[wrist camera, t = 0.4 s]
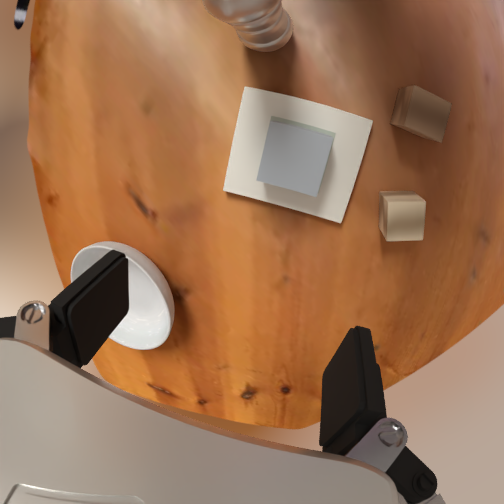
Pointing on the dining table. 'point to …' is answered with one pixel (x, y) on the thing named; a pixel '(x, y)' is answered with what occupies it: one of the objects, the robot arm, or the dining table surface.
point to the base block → (294, 157)
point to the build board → (306, 116)
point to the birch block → (401, 215)
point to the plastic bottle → (255, 21)
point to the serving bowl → (136, 296)
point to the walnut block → (421, 113)
